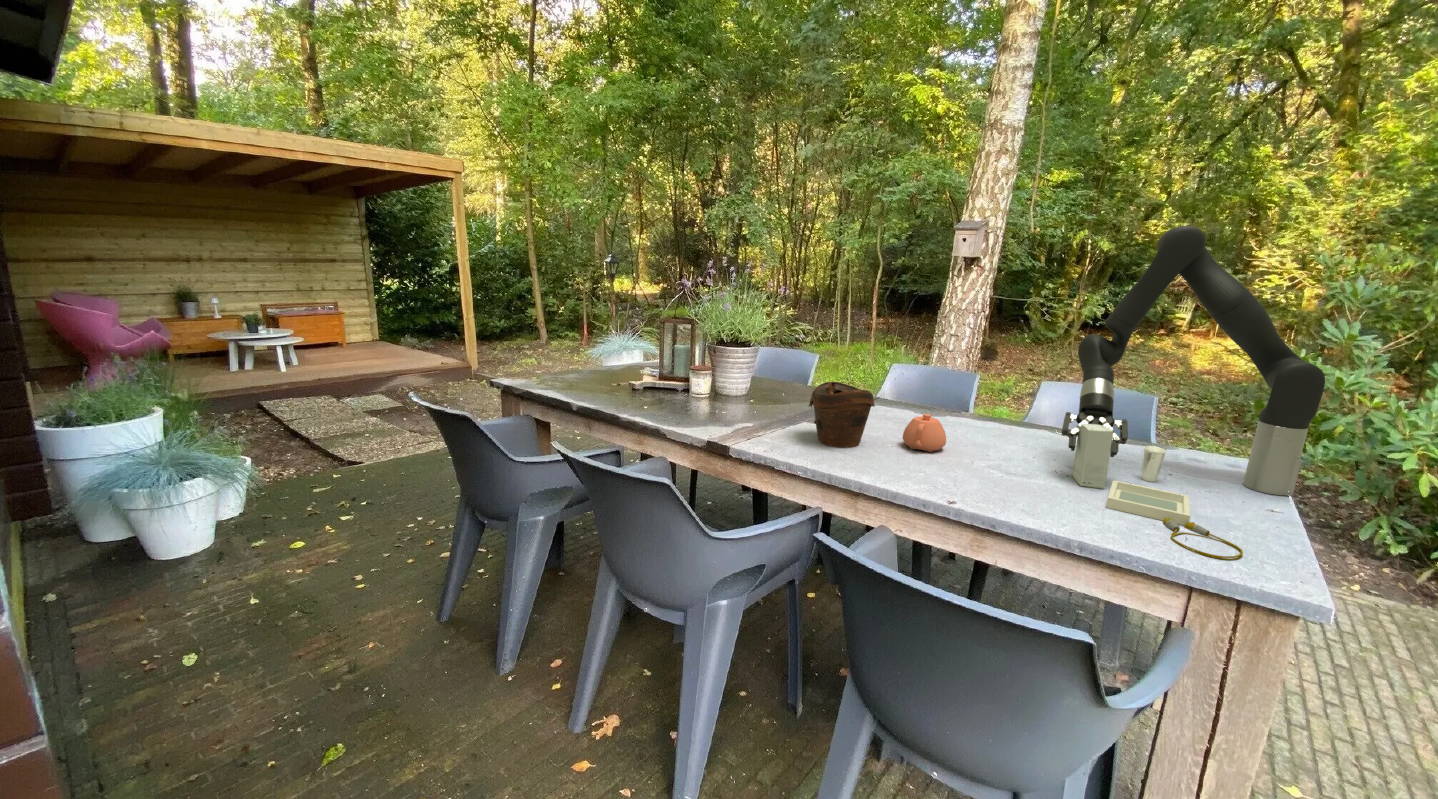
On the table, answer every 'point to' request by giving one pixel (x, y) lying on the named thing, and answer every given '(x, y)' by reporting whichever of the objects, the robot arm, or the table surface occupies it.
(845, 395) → the case
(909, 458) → the table surface
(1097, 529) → the table surface
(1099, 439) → the skincare box
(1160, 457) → the milkshake
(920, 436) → the sugar bowl
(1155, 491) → the shallow cream tray
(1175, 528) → the extension cord
